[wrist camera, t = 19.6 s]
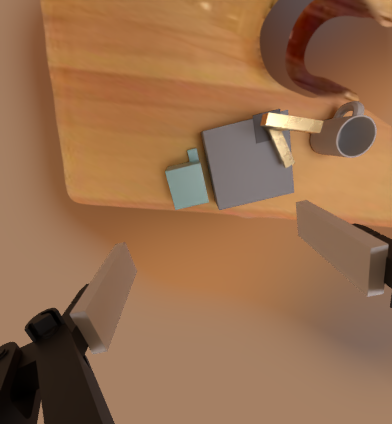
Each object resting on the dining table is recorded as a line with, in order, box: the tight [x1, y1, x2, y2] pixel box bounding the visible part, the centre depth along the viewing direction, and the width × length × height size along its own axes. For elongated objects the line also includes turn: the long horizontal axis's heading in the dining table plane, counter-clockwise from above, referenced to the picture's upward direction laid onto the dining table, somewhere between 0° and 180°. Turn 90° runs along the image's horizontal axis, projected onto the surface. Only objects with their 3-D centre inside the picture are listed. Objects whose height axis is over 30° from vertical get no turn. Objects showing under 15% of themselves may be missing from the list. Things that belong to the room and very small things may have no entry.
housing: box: [201, 109, 294, 210], centre depth 44 cm, size 16×16×6 cm
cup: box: [310, 101, 377, 158], centre depth 41 cm, size 7×10×9 cm
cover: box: [165, 148, 209, 210], centre depth 44 cm, size 10×7×7 cm, turn 13°
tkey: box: [260, 113, 324, 168], centre depth 35 cm, size 10×8×10 cm
